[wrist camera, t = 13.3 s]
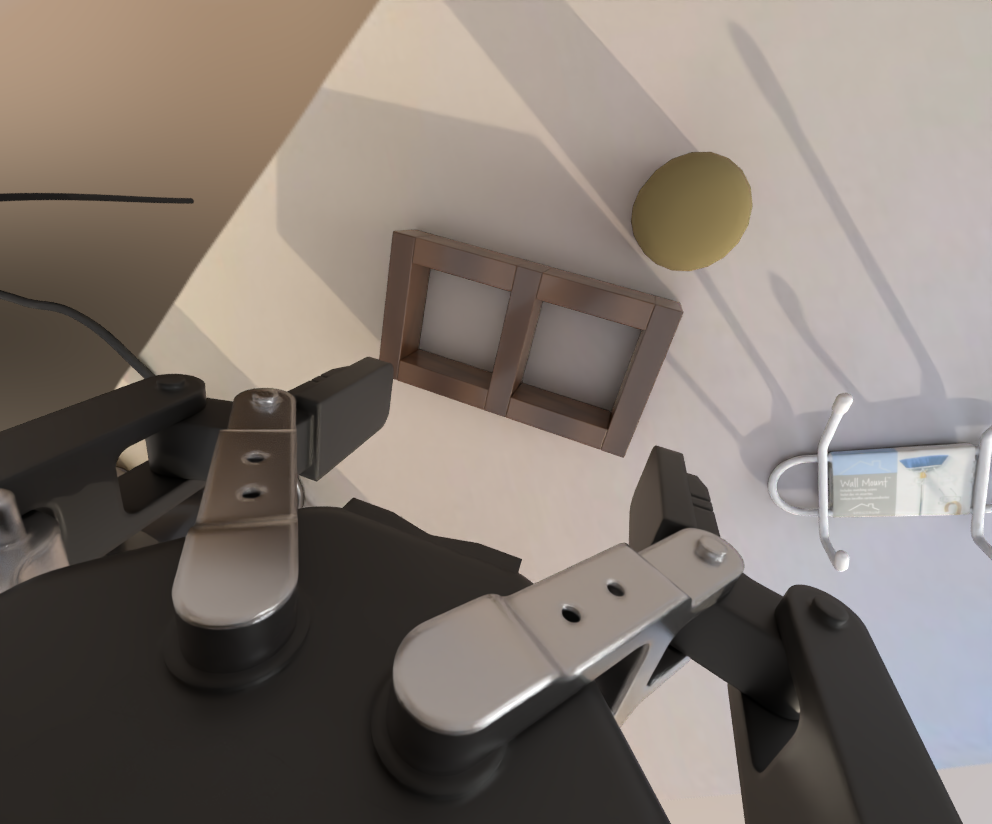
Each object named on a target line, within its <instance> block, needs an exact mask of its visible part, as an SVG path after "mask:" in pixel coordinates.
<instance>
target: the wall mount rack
mask: <svg viewBox="0 0 992 824" xmlns="http://www.w3.org/2000/svg"><path fill="white" fill-rule="evenodd" d="M852 402H853V397H852V396H851V395H850V394H847V393H842V394H839V395H838V396H837V397H836V399H835V401H834V403H833V406H832V410H833V411H832V414H831V416H830V418H829V421H828V423H827V425H826V428H825V430H824V433H823V435H822V437H821V440H820V442H819V445H818V455H804V456H797V457H793V458H790V459H788V460H786V461H784V462H782V463H781V464H779V465H778V466H777V467H776V468H775V469H774V470H773V472H772V473H771V475H770V477H769V481H768V491H769V494H770V497H771V498H772V500H773V501H774V503H775V504H776V505H777V506H779V507H780V508H781V509H783V510H785V511H787V512H789V513H792V514H796V515H802V516H818V517H819V535H820V540H821V543H822V545H823V547H824V549H825V551H826V553H827V555H828V557H829V559H830V561H831V563H832V565H833V566H834V568H835V569H836V570H837V571H839V572H842V571H844V570H846V569H847V568H848V565H849V555H848V554H847V553H846V552H845V551H843V550H839V551H837V552H835V550H834V548H833V546H832V544H831V542H830V540H829V534H828V516H832V517H882V516H926V515H967V514H970V513H971V514H972V522H971V536H972V538H973V540H974V542H975V543H976V544H977V545H978V546H979V548H980V549H981V550H982V551H983V552H984V553H985V554H986V555H987V556H988V557H989V558H990V559H991V560H992V546H991V545H990V544H989V543H988V542H987V541H986V539H985V538H984V535H983V523H984V513H992V504H986V497H987V488H988V479H989V471H990V462H991V453H992V426H991V427H989V428H988V429H987V430H986V431H985V432H984V433H983V434H982V436H981V439H980V445H978V446H974V445H972V444H970V443H960V444H946V445H930V446H913V447H897V448H883V449H867V450H853V451H836V452H830V453H829V454H827V450H828V446H829V443H830V441H831V439H832V437H833V435H834V433H835V430H836V428H837V426H838V424H839V422H840V420H841V418H842V416H843V414H844V413H846V412H847V411H848V409H849V407H850V405H851V403H852ZM809 462H818V500H819V509H804V508H797V507H793V506H791V505H789V504H787V503H786V502H784V501H783V500H782V499H781V498H780V496H779V495H778V492H777V481H778V478H779V477H780V475H781V474H782V473H783V472H784V471H785V470H786V469H788V468H789V467H791V466H794V465H797V464H800V463H809ZM827 462H829V500H830V509H828V474H827Z"/></svg>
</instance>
